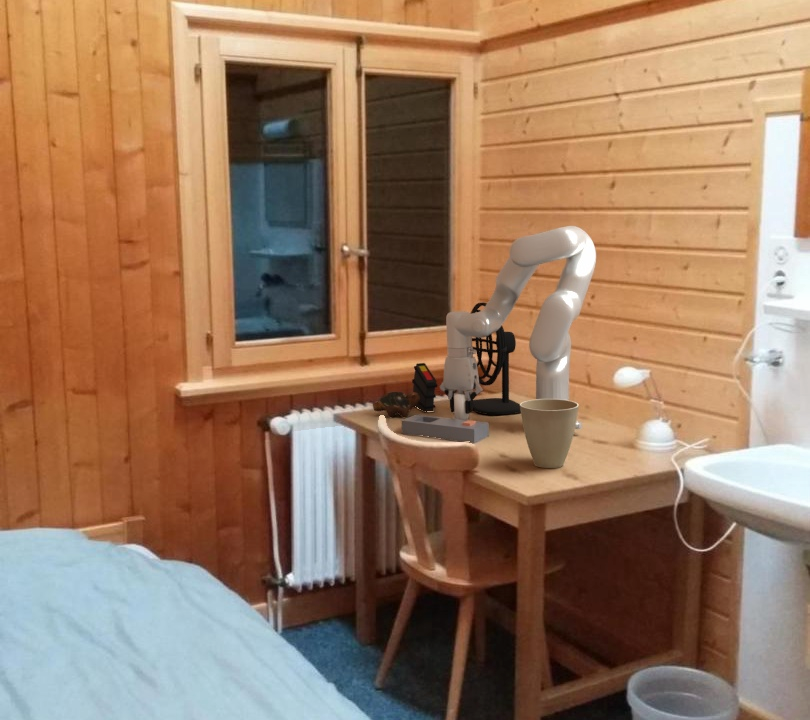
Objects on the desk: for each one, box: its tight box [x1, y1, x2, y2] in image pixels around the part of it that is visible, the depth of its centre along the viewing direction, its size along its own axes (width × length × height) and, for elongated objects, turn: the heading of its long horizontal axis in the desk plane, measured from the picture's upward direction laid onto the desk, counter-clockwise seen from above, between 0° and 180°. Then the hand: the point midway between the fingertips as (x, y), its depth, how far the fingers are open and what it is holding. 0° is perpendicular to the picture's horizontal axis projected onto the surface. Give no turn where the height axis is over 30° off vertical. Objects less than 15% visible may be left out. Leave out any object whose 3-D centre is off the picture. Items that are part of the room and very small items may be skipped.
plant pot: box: [519, 398, 579, 469], centre depth 251 cm, size 15×15×16 cm
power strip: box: [401, 413, 490, 444], centre depth 285 cm, size 24×9×5 cm, turn 59°
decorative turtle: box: [372, 391, 420, 418], centre depth 310 cm, size 10×15×8 cm, turn 87°
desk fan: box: [469, 301, 521, 416], centre depth 315 cm, size 27×18×35 cm, turn 17°
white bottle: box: [453, 390, 470, 420], centre depth 296 cm, size 4×4×11 cm
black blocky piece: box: [411, 362, 438, 412], centre depth 318 cm, size 4×13×15 cm, turn 22°
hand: (461, 411), depth 296 cm, fingers closed on white bottle, 4 cm apart
